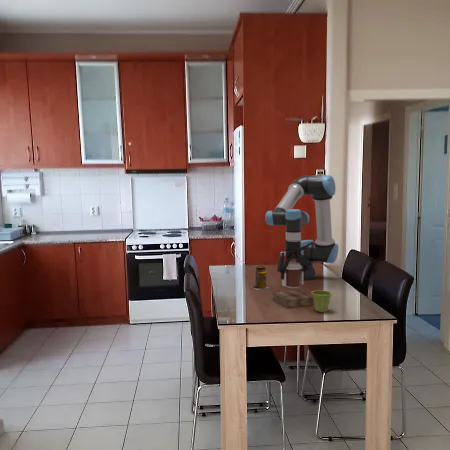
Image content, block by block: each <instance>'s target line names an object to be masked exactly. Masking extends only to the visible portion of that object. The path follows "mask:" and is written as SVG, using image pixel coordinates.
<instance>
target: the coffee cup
mask: <svg viewBox="0 0 450 450" xmlns="http://www.w3.org/2000/svg"><path fill="white" fill-rule="evenodd" d="M301 269H302V266H301V265H300V263H298V262H294V261H290V262H289V264H288V266H287V268H286V271H285V273H286V286H285V287H286V288H288V289H299V288H300V285H301V284H300V273H301Z"/></svg>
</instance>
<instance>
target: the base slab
mask: <svg viewBox="0 0 450 450" xmlns="http://www.w3.org/2000/svg"><path fill="white" fill-rule="evenodd" d="M272 301H273V302H276V303H277V304H278V305H280V306H282V307H283V308H285V309H291V308H298V307H307V306H314V300H313V296H312V294H308V293H307V292H304V291H302V290H300V289H294V290H285V291H284V290H283V291H276V292H272Z"/></svg>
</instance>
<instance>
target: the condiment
mask: <svg viewBox="0 0 450 450" xmlns="http://www.w3.org/2000/svg"><path fill="white" fill-rule="evenodd" d="M250 288H251V289H254V290H257V291H259V290H263V289H264V290H265V289H269V288H270V287H268V286H267V271H266V266H264V265H257V266H256V270H255V285H254V286H250Z"/></svg>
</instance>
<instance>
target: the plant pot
mask: <svg viewBox="0 0 450 450" xmlns="http://www.w3.org/2000/svg"><path fill="white" fill-rule="evenodd" d="M310 293H311V296H313V300H314V305H313V306H314V311H315V312H318V313H326V312H328V311H329V307H330V306H329V305H330V300H331V299H330V298H331V295H332V292H331V291H328V290H322V289H321V290H318V289H317V290H313V291H311V292H310Z"/></svg>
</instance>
